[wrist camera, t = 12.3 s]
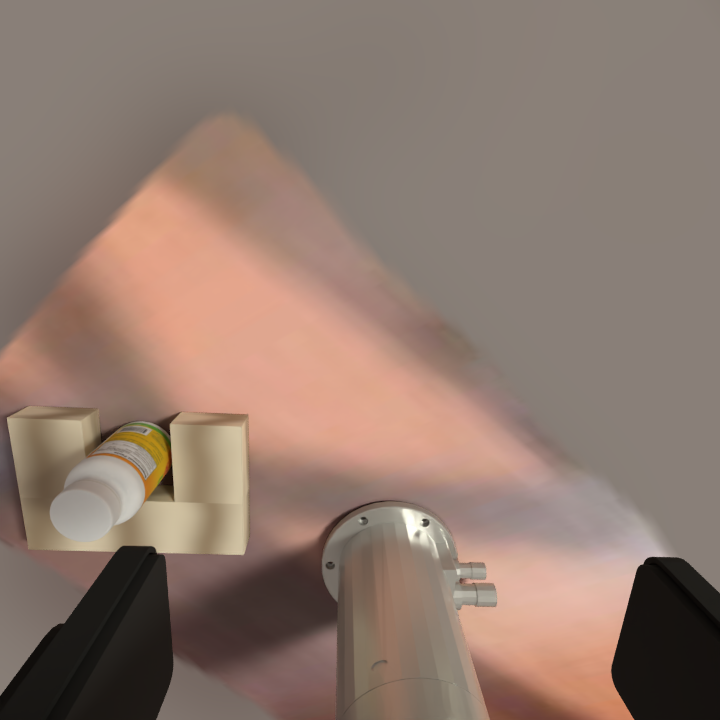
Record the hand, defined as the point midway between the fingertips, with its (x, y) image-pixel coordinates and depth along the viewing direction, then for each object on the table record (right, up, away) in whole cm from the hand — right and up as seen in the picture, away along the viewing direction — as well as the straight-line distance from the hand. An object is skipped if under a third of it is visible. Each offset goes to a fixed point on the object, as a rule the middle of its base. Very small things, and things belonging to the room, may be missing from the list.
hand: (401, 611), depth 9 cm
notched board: (-20, -5, +30) cm, 36 cm away
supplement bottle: (-19, -3, +30) cm, 36 cm away
